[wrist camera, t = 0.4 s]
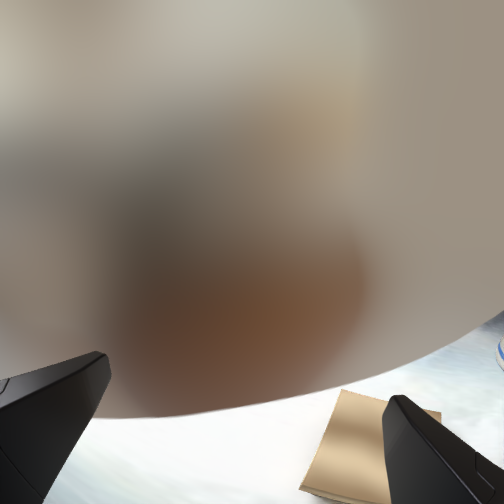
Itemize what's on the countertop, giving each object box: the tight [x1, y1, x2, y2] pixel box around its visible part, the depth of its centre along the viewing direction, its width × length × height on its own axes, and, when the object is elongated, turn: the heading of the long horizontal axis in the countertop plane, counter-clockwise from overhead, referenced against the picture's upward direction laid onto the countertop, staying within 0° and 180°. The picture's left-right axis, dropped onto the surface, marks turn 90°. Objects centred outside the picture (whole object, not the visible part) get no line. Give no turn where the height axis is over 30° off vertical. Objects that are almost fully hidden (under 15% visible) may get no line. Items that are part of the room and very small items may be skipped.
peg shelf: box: [299, 389, 441, 504], centre depth 18 cm, size 11×11×3 cm
